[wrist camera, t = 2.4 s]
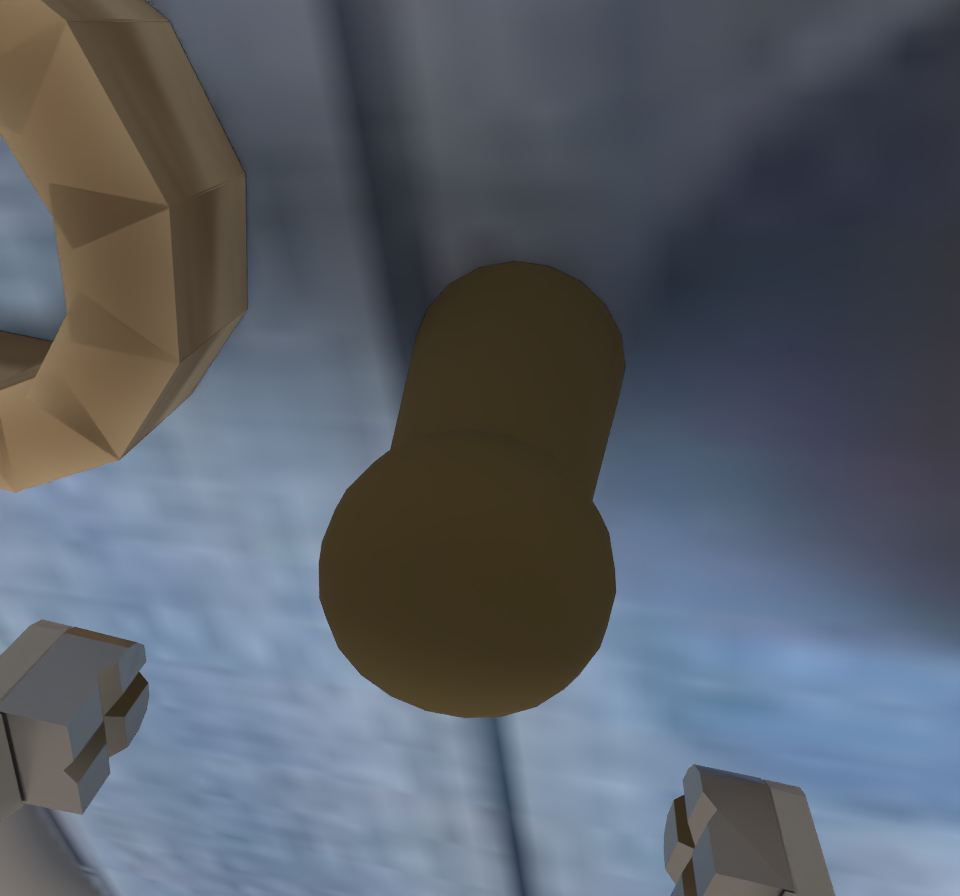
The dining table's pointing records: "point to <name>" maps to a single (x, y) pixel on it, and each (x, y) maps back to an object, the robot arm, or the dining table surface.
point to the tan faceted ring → (115, 231)
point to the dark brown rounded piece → (485, 503)
